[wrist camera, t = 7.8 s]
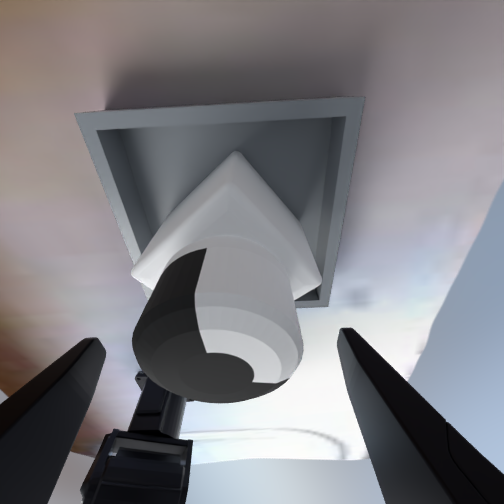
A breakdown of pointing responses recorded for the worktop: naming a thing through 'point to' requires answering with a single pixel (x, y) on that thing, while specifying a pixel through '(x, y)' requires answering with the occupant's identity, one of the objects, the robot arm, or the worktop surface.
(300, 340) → the medicine bottle
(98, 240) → the worktop surface
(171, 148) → the bin
